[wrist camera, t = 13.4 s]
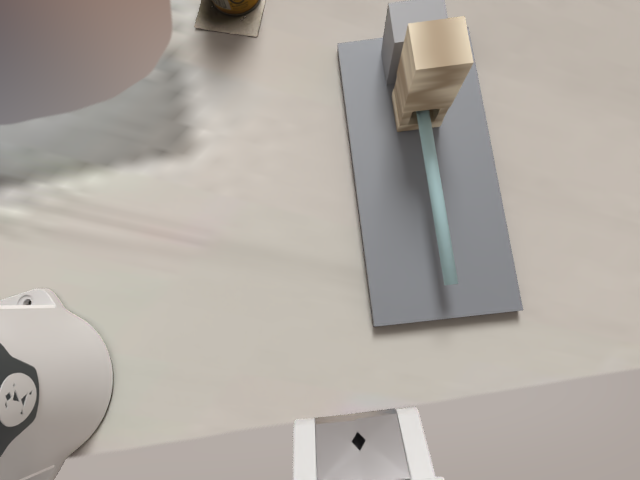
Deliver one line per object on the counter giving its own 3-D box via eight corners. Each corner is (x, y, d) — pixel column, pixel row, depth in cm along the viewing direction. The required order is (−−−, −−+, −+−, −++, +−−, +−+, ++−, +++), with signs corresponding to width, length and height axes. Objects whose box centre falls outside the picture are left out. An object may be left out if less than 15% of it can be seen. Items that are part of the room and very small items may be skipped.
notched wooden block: (396, 131, 43) (415, 70, 32) (391, 95, 44) (408, 23, 33) (440, 126, 43) (473, 62, 32) (434, 90, 44) (464, 15, 33)
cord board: (373, 326, 42) (381, 328, 33) (337, 50, 47) (337, -5, 39) (517, 310, 41) (561, 308, 33) (464, 34, 47) (490, -26, 38)
